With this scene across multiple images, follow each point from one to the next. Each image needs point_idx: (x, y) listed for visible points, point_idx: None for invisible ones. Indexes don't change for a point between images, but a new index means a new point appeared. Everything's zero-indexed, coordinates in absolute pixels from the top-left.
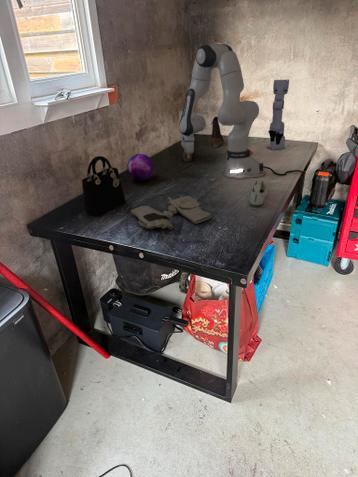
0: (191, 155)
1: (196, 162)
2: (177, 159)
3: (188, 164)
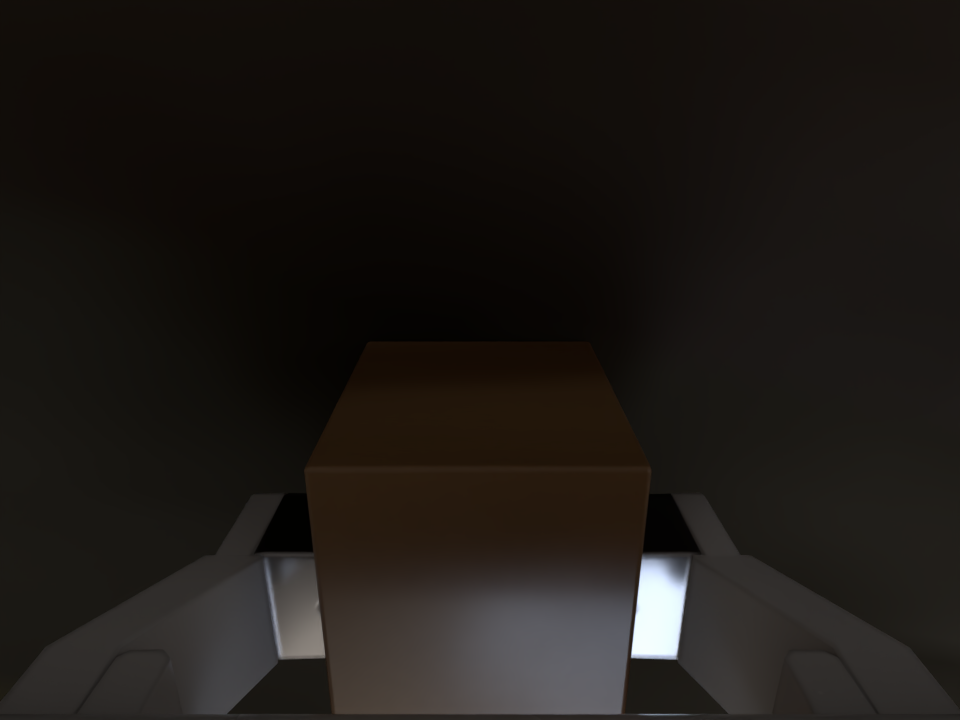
0: (633, 441)
1: (887, 238)
2: (290, 692)
3: (929, 528)
